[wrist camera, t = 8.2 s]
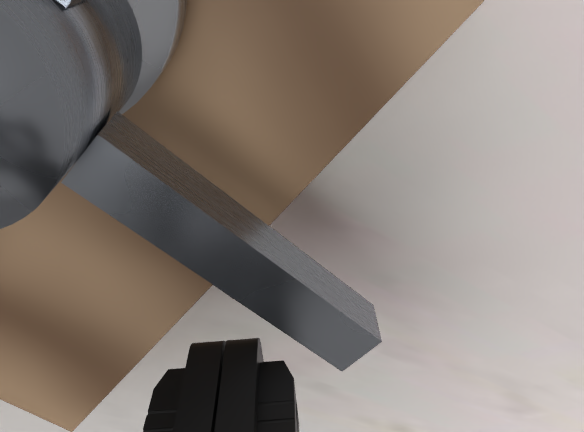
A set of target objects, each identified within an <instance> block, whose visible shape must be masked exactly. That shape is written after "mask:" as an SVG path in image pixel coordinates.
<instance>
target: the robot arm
mask: <svg viewBox="0 0 584 432" xmlns="http://www.w3.org/2000/svg"><path fill="white" fill-rule="evenodd" d="M143 432H299V421H298V412H297V403H296V394H295V385H294V378H293V376H292V374H291V373H290V371H289V369H288V367H287V366H286V364H285V362H284V361H272V362H264V361H263V355H262V348H261V342H260V339H259V338H253V339H240V340H227V341H226V342H225V341H216V342H203V343H192V344H191V346H190V349H189V354H188V359H187V363H186V368H181V369H168V371H167V372H166V373H165V375H164V376H163V377H162V379H161V380H160V381H159V383H158V384H157V385H156V387H155V388H154V390H153V394H152V398H151V401H150V405H149V409H148V415H147V416H146V420H145V424H144V428H143Z"/></svg>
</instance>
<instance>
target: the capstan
mask: <svg viewBox="0 0 584 432" xmlns="http://www.w3.org/2000/svg"><path fill="white" fill-rule="evenodd" d="M186 3H187V0H0V229H2V228H4V227H7V226H9V225H12V224H14V223H16V222H17V221H19V220H21V219H23V218H25V217H26V216H27V215H28V214H30V213H31V212H32V211H34V210H35V209H36V208H37V207H38V206H39V205H40V204H41V203H42V201H43V200H44V199H45V198H46V197H47V196H48V195H49V194H50V192H51V191H52V190H53V189H54V188H55V186H56V185H57V184H58V183H59V182H60V181H61V179H62V178H63V177H64V176H65V175H66V174H67V172H68V171H69V170H70V169H71V168H72V169H71V170H70V171H69V172H68V174H67V175H66V176H65V178H64V179H63V180H62V182H61V183H62V184H64V185H65V186H67V187H68V188H70V189H71V190H73V191H74V192H76V193H77V194H79V195H80V196H82V197H83V198H85V199H86V200H88V201H89V202H91V203H92V204H94V205H95V206H97V207H98V208H100V209H101V210H103V211H104V212H106V213H107V214H109V215H110V216H111V217H113V218H114V219H116V220H117V221H119V222H120V223H122V224H123V225H125V226H126V227H128V228H129V229H131V230H132V231H134V232H135V233H137V234H138V235H140V236H141V237H143V238H144V239H146V240H147V241H149V242H150V243H152V244H153V245H155V246H156V247H158V248H159V249H161V250H162V251H164V252H165V253H167V254H168V255H169V256H171V257H172V258H174V259H175V260H177V261H178V262H180V263H181V264H183V265H184V266H186V267H187V268H189V269H190V270H192V271H193V272H195V273H196V274H198V275H199V276H201V277H202V278H204V279H205V280H207V281H208V282H210V283H211V284H213V285H214V286H216V287H217V288H219V289H220V290H222V291H223V292H225V293H226V294H227V295H229V296H230V297H232V298H233V299H235V300H236V301H238V302H239V303H241V304H242V305H244V306H245V307H247V308H248V309H250V310H251V311H253V312H254V313H256V314H257V315H259V316H260V317H262V318H263V319H265V320H266V321H268V322H269V323H271V324H272V325H274V326H275V327H277V328H278V329H280V330H281V331H283V332H284V333H285V334H287V335H288V336H290V337H291V338H293V339H294V340H296V341H297V342H299V343H300V344H302V345H303V346H305V347H306V348H308V349H309V350H311V351H312V352H314V353H315V354H317V355H318V356H320V357H321V358H323V359H324V360H326V361H327V362H329V363H330V364H332V365H333V366H335V367H336V368H338V369H339V370H340V371H343V370H345V369H346V368H347V367H349V366H350V365H351V364H353V363H354V362H355V361H357V360H358V359H359V358H361V357H362V356H363V355H365V354H366V353H367V352H369V351H370V350H371V349H373V348H374V347H375V346H377V345H378V344H379V343H381V342H382V340H381V336H380V332H379V327H378V323H377V319H376V314H375V310H374V306H373V304H371V303H370V302H369V301H367V300H366V299H365V298H363V297H362V296H361V295H359V294H358V293H357V292H355V291H354V290H353V289H351V288H350V287H349V286H348V285H346V284H345V283H344V282H342V281H341V280H340V279H338V278H337V277H336V276H334V275H333V274H332V273H330V272H329V271H328V270H326V269H325V268H324V267H322V266H321V265H320V264H319V263H317V262H316V261H315V260H313V259H312V258H311V257H309V256H308V255H307V254H305V253H304V252H303V251H301V250H300V249H299V248H297V247H296V246H295V245H293V244H292V243H291V242H290V241H288V240H287V239H286V238H284V237H283V236H282V235H280V234H279V233H278V232H276V231H275V230H274V229H272V228H271V227H270V226H268V225H267V224H266V223H264V222H263V221H262V220H261V219H259V218H258V217H257V216H255V215H254V214H253V213H251V212H250V211H249V210H247V209H246V208H245V207H243V206H242V205H241V204H239V203H238V202H237V201H235V200H234V199H233V198H232V197H230V196H229V195H228V194H226V193H225V192H224V191H222V190H221V189H220V188H218V187H217V186H216V185H214V184H213V183H212V182H210V181H209V180H208V179H206V178H205V177H204V176H203V175H201V174H200V173H199V172H197V171H196V170H195V169H193V168H192V167H191V166H189V165H188V164H187V163H185V162H184V161H183V160H181V159H180V158H179V157H177V156H176V155H175V154H174V153H172V152H171V151H170V150H168V149H167V148H166V147H164V146H163V145H162V144H160V143H159V142H158V141H156V140H155V139H154V138H152V137H151V136H150V135H148V134H147V133H146V132H145V131H143V130H142V129H141V128H139V127H138V126H137V125H135V124H134V123H133V122H131V121H130V120H129V119H127V118H126V117H125V116H123V115H122V114H123V113H125V112H126V111H127V110H128V109H130V108H131V107H132V106H133V105H135V104H136V103H137V102H138V101H139V100H140V99H141V98H142V97H143V96H144V95H145V93H146V92H147V91H148V90H149V89H150V88H151V87H152V85H153V84H154V83H155V81H156V80H157V79H158V78H159V76H160V75H161V74H162V72H163V71H164V69H165V68H166V66H167V65H168V63H169V62H170V60H171V58H172V56H173V54H174V52H175V49H176V47H177V45H178V42H179V39H180V36H181V33H182V29H183V25H184V19H185V13H186ZM74 164H75V165H74ZM73 165H74V166H73ZM72 166H73V167H72Z"/></svg>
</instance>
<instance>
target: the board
mask: <svg viewBox="0 0 584 432" xmlns="http://www.w3.org/2000/svg"><path fill="white" fill-rule="evenodd" d="M483 1H484V0H187V3H186V13H185V19H184V25H183V29H182V33H181V36H180V39H179V42H178V45H177V47H176V49H175V52H174V54H173V56H172V58H171V60H170V62H169V63H168V65H167V66H166V68H165V69H164V71H163V72H162V74H161V75H160V76H159V78H158V79H157V80H156V81H155V83H154V84H153V85H152V87H151V88H150V89H149V90H148V91H147V92H146V93H145V95H144V96H143V97H142V98H141V99H140V100H139V101H138V102H137V103H136V104H135V105H133V106H132V107H131V108H130V109H128V110H127V111H126V112H125V113H123V114H122V115H123V116H125V117H126V118H127V119H129V120H130V121H131V122H133V123H134V124H135V125H137V126H138V127H139V128H141V129H142V130H143V131H145V132H146V133H147V134H148V135H150V136H151V137H152V138H154V139H155V140H156V141H158V142H159V143H160V144H162V145H163V146H164V147H166V148H167V149H168V150H170V151H171V152H172V153H174V154H175V155H176V156H177V157H179V158H180V159H181V160H183V161H184V162H185V163H187V164H188V165H189V166H191V167H192V168H193V169H195V170H196V171H197V172H199V173H200V174H201V175H203V176H204V177H205V178H206V179H208V180H209V181H210V182H212V183H213V184H214V185H216V186H217V187H218V188H220V189H221V190H222V191H224V192H225V193H226V194H228V195H229V196H230V197H232V198H233V199H234V200H235V201H237V202H238V203H239V204H241V205H242V206H243V207H245V208H246V209H247V210H249V211H250V212H251V213H253V214H254V215H255V216H257V217H258V218H259V219H261V220H262V221H263V222H264V223H266V224H267V225H268V226H269V225H270V224H271V223H272V222H273V221H274V220H275V219H276V218H277V217H278V216H279V215H280V214H281V213H282V212H283V211H284V210H285V209H286V207H287V206H288V205H289V204H290V203H291V202H292V201H293V200H294V199H295V198H296V197H297V196H298V195H299V194H300V193H301V192H302V191H303V190H304V189H305V188H306V187H307V186H308V184H309V183H310V182H311V181H312V180H313V179H314V178H315V177H316V176H317V175H318V174H319V173H320V172H321V171H322V170H323V169H324V168H325V167H326V166H327V165H328V164H329V163H330V161H331V160H332V159H333V158H334V157H335V156H336V155H337V154H338V153H339V152H340V151H341V150H342V149H343V148H344V147H345V146H346V145H347V144H348V143H349V142H350V141H351V139H352V138H353V137H354V136H355V135H356V134H357V133H358V132H359V131H360V130H361V129H362V128H363V127H364V126H365V125H366V124H367V123H368V122H369V121H370V120H371V119H372V118H373V116H374V115H375V114H376V113H377V112H378V111H379V110H380V109H381V108H382V107H383V106H384V105H385V104H386V103H387V102H388V101H389V100H390V99H391V98H392V97H393V96H394V95H395V93H396V92H397V91H398V90H399V89H400V88H401V87H402V86H403V85H404V84H405V83H406V82H407V81H408V80H409V79H410V78H411V77H412V76H413V75H414V74H415V73H416V71H417V70H418V69H419V68H420V67H421V66H422V65H423V64H424V63H425V62H426V61H427V60H428V59H429V58H430V57H431V56H432V55H433V54H434V53H435V52H436V51H437V50H438V48H439V47H440V46H441V45H442V44H443V43H444V42H445V41H446V40H447V39H448V38H449V37H450V36H451V35H452V34H453V33H454V32H455V31H456V30H457V29H458V28H459V27H460V25H461V24H462V23H463V22H464V21H465V20H466V19H467V18H468V17H469V16H470V15H471V14H472V13H473V12H474V11H475V10H476V9H477V8H478V7H479V6H480V5H481V4H482V2H483ZM74 165H75V164H74ZM74 165H73V166H74ZM73 166H72V167H73ZM71 169H72V168H71ZM71 169H70V170H71ZM70 170H69V171H70ZM69 171H68V172H69ZM68 172H67V174H68ZM67 174H66V175H67ZM66 175H65V176H66ZM65 176H64V177H63V178H62V179H61V181H60V182H59V183H58V184H57V185H56V186H55V188H54V189H53V190H52V191H51V192H50V194H49V195H48V196H47V197H46V198H45V199H44V200H43V201H42V203H41V204H40V205H39V206H38V207H37V208H36V209H35V210H34V211H32V212H31V213H30V214H28V215H27V216H26V217H25V218H23V219H21V220H19V221H17V222H16V223H14V224H12V225H9V226H7V227H4V228H2V229H0V399H1V400H3V401H5V402H7V403H10V404H12V405H14V406H16V407H18V408H21V409H23V410H25V411H27V412H29V413H32V414H34V415H36V416H38V417H40V418H42V419H45V420H47V421H49V422H51V423H53V424H56V425H58V426H60V427H62V428H64V429H66V430H69V431H71V432H72V431H73V430H74V429H75V428H76V427H77V426H78V425H79V424H80V423H81V422H82V421H83V420H84V419H85V418H86V417H87V416H88V415H89V414H90V413H91V411H92V410H93V409H94V408H95V407H96V406H97V405H98V404H99V403H100V402H101V401H102V400H103V399H104V398H105V397H106V396H107V395H108V394H109V393H110V392H111V391H112V390H113V388H114V387H115V386H116V385H117V384H118V383H119V382H120V381H121V380H122V379H123V378H124V377H125V376H126V375H127V374H128V373H129V372H130V371H131V370H132V369H133V368H134V366H135V365H136V364H137V363H138V362H139V361H140V360H141V359H142V358H143V357H144V356H145V355H146V354H147V353H148V352H149V351H150V350H151V349H152V348H153V347H154V346H155V345H156V343H157V342H158V341H159V340H160V339H161V338H162V337H163V336H164V335H165V334H166V333H167V332H168V331H169V330H170V329H171V328H172V327H173V326H174V325H175V324H176V323H177V322H178V320H179V319H180V318H181V317H182V316H183V315H184V314H185V313H186V312H187V311H188V310H189V309H190V308H191V307H192V306H193V305H194V304H195V303H196V302H197V301H198V300H199V298H200V297H201V296H202V295H203V294H204V293H205V292H206V291H207V290H208V289H209V288H210V287H211V286H212V285H213V284H211V283H210V282H208V281H207V280H205V279H204V278H202V277H201V276H199V275H198V274H196V273H195V272H193V271H192V270H190V269H189V268H187V267H186V266H184V265H183V264H181V263H180V262H178V261H177V260H175V259H174V258H172V257H171V256H169V255H168V254H167V253H165V252H164V251H162V250H161V249H159V248H158V247H156V246H155V245H153V244H152V243H150V242H149V241H147V240H146V239H144V238H143V237H141V236H140V235H138V234H137V233H135V232H134V231H132V230H131V229H129V228H128V227H126V226H125V225H123V224H122V223H120V222H119V221H117V220H116V219H114V218H113V217H111V216H110V215H109V214H107V213H106V212H104V211H103V210H101V209H100V208H98V207H97V206H95V205H94V204H92V203H91V202H89V201H88V200H86V199H85V198H83V197H82V196H80V195H79V194H77V193H76V192H74V191H73V190H71V189H70V188H68V187H67V186H65V185H64V184H62V183H61V182H62V180H63V179H64V178H65Z"/></svg>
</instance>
